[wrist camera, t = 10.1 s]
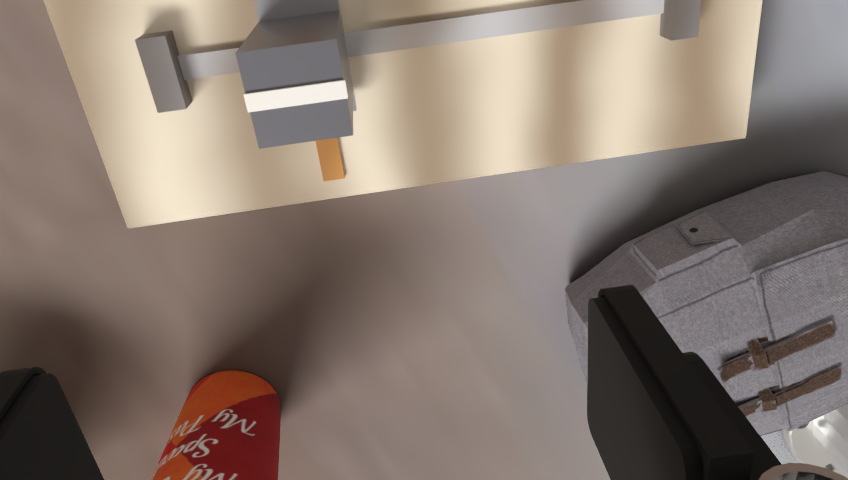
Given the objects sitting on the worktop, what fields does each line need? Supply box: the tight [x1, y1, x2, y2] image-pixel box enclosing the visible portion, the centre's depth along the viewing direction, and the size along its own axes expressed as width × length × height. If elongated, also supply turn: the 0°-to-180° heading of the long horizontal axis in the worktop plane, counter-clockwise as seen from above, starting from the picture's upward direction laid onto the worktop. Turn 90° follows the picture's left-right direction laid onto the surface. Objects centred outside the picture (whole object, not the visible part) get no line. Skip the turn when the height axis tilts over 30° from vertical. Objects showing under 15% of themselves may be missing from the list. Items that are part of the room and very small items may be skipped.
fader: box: [235, 0, 356, 149], centre depth 24 cm, size 3×5×7 cm, turn 7°
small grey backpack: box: [565, 171, 848, 436], centre depth 36 cm, size 15×8×20 cm
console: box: [44, 0, 762, 228], centre depth 29 cm, size 30×14×4 cm, turn 97°
